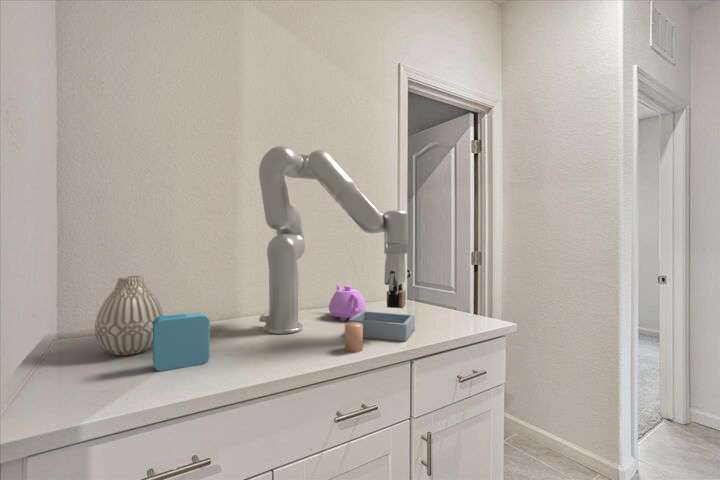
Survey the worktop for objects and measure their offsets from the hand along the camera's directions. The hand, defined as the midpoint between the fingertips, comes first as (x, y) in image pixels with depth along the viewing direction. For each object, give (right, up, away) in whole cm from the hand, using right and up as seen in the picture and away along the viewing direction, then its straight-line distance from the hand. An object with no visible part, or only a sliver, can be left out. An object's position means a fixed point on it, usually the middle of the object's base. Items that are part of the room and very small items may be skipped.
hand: (395, 305), depth 121 cm
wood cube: (0, -1, 0) cm, 1 cm away
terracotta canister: (-13, -10, -17) cm, 23 cm away
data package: (-55, -10, -30) cm, 63 cm away
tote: (-4, -9, +1) cm, 10 cm away
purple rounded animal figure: (-17, -9, +24) cm, 30 cm away
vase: (-73, -9, -20) cm, 77 cm away
